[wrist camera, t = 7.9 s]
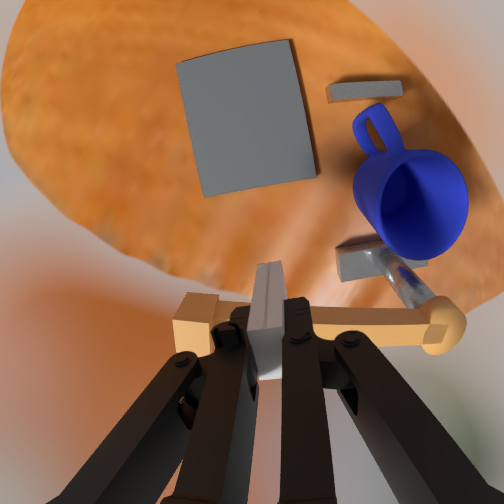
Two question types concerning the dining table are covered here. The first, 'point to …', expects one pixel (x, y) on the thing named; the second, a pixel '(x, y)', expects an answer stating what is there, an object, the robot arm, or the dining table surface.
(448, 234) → the mug
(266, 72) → the coaster
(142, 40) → the dining table surface
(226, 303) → the ball-tipped wooden rod
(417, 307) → the dock
